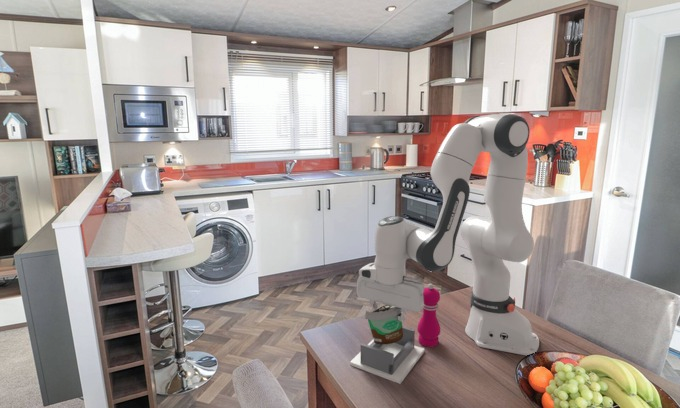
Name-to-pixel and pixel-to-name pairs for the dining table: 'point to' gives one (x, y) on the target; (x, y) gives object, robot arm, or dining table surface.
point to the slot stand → (389, 357)
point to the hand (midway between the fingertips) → (388, 317)
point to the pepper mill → (429, 318)
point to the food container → (385, 324)
